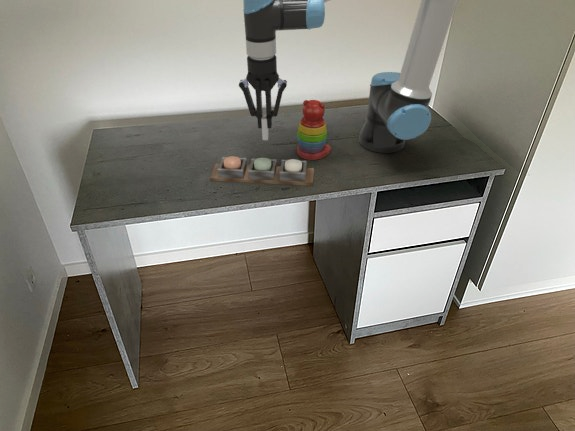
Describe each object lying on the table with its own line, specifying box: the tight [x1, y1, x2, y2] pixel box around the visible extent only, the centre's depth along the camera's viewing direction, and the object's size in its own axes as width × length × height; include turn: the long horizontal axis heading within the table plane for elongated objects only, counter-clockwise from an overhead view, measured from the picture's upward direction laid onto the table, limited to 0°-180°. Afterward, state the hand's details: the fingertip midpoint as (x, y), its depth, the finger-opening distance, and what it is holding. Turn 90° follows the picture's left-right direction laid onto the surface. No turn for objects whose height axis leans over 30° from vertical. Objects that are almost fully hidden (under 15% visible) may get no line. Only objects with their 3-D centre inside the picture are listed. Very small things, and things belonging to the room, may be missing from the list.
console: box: [210, 156, 315, 187], centre depth 139 cm, size 30×8×4 cm, turn 86°
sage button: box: [254, 157, 271, 171], centre depth 138 cm, size 5×5×3 cm
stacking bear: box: [296, 99, 332, 161], centre depth 145 cm, size 11×10×18 cm
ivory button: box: [285, 158, 302, 173], centre depth 137 cm, size 5×5×3 cm
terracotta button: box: [224, 155, 241, 170], centre depth 138 cm, size 5×5×3 cm
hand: (265, 137), depth 134 cm, fingers closed
